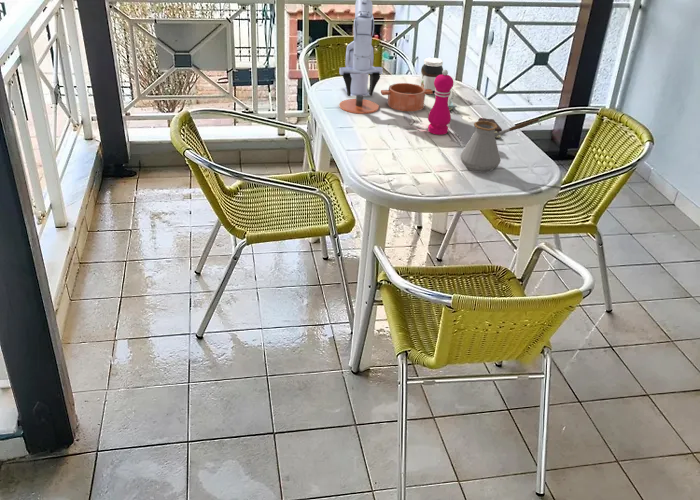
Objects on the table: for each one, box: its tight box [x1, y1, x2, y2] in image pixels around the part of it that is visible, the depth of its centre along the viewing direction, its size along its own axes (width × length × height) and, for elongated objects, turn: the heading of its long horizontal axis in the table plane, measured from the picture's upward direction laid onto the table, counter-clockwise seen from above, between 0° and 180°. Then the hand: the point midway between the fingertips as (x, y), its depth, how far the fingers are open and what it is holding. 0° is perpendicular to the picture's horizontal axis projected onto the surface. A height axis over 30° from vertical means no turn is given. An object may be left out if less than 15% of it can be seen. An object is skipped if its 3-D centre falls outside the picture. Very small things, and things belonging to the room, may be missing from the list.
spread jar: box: [419, 57, 452, 95], centre depth 250 cm, size 12×11×12 cm
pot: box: [380, 82, 433, 112], centre depth 235 cm, size 13×18×6 cm
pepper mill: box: [427, 69, 454, 136], centre depth 213 cm, size 7×7×20 cm
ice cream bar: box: [477, 117, 503, 139], centre depth 220 cm, size 5×2×15 cm
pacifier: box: [448, 90, 458, 111], centre depth 236 cm, size 7×6×6 cm
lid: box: [338, 95, 380, 115], centre depth 232 cm, size 14×14×5 cm
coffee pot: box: [459, 118, 542, 174], centre depth 191 cm, size 21×12×15 cm, turn 95°
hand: (359, 94), depth 230 cm, fingers open, 7 cm apart
